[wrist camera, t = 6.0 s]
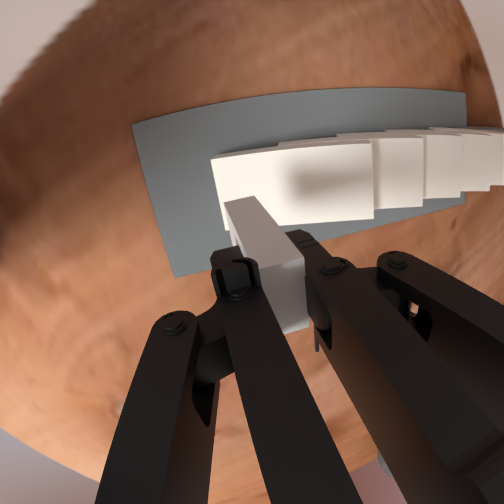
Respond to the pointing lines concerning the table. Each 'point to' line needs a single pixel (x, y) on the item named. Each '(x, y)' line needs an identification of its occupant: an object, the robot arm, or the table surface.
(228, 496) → the table surface
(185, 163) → the mat
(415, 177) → the tile
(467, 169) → the tile
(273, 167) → the tile
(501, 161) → the tile
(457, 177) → the tile
